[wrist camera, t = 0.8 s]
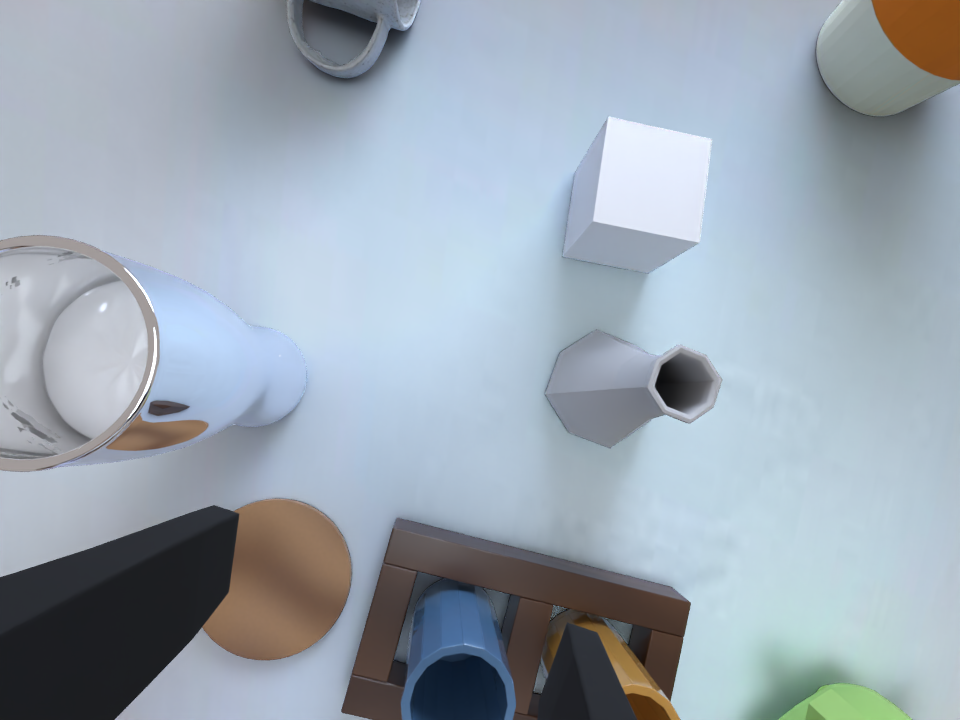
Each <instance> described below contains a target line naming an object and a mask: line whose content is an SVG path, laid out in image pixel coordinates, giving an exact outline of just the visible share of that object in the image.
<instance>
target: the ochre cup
mask: <svg viewBox="0 0 960 720" xmlns="http://www.w3.org/2000/svg"><path fill="white" fill-rule="evenodd" d="M567 622H568V623H571V624H574V625H577V626H580V627H583V628H586V629H589V630H592V631H595V632H597V633H598V635H599V637H600V639H601V641H602V643H603V645H604V648H605V650H606V652H607V654H608V657H609V659H610V661H611V663H612V666H613V668H614V670H615V672H616V675H617V677H618V679H619V681H620V683H621V686H622V688H623V690H624V692H625V694H626V696H627V699H628V701H629V703H630V705H631V707H632V709H633V712H634V714H635V716H636V718H637V720H680V718H679V716H678V715H677V713H676V711H675V709H674V708H673V706H672V704H671V702H670V701H669V700H668V698H667V697H666V696H665V694H664V693H663V692H662V690H661V689H660V688H659V686H658V685H657V684H656V682H655V681H654V680H653V678H652V677H651V676H650V674H649V673H648V672H647V670H646V669H645V668H644V666H643V665H642V664H641V662H640V661H639V660H638V659H637V657H636V656H635V655H634V653H633V652H632V651H631V649H630V648H629V647H628V645H627V644H626V643H625V641H624V640H623V639H622V637H621V636H620V635H619V633H618V632H617V631H616V629H615V628H614V627H613V625H612V624H611V623H610V622H609V621H608V620H607V619H606V618H605V617H601V616H597V615H593V614H589V613H585V612H581V611H576V610H572V609H570V610H567V611H564V612H562V613H560V614H559V615H557V616H556V617H555V618H554V619H553V620H552V621H551V622H550V623H549V626H548V630H547V634H546V639H545V643H544V647H543V651H542V655H541V659H540V662H541V665H542V670H543V673H544V676H545V678H546V680H547V677H548V674H549V672H550V669H551V666H552V663H553V660H554V658H555V655H556V652H557V649H558V646H559V643H560V641H561V638H562V635H563V632H564V629H565V627H566V624H567Z"/></svg>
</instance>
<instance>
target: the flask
mask: <svg viewBox="0 0 960 720" xmlns="http://www.w3.org/2000/svg"><path fill="white" fill-rule="evenodd" d="M721 383H722V378H721V377H720V375H719V374H718V372H717V371H716V369H715V368H714V366H713V364H712V363H711V361H710V360H709V358H708V357H707V355H705V354H703V353H700V352H698V351H695V350H693V349H690V348H688V347H685V346H683V345H680V344H679V345H676V346H675V347H673V348H671V349H670V350H668V351H667V352H665V353H664V354H662V355H652V354H648V353H647V352H645V351H644V350H643V349H641V348H640V347H638V346H636V345H634V344H631V343H629V342H626V341H624V340H621V339H619V338H616V337H614V336H611V335H609V334H606V333H604V332H601V331H599V330H594V331H593V332H591V333H590V334H588V335H587V336H585V337H583V338H582V339H580V340H579V341H577V342H576V343H574V344H572V345H571V346H569V347H568V348H566V349H564V350H563V351H561V352H560V354H559V356H558V359H557V362H556V365H555V367H554V370H553V373H552V376H551V378H550V381H549V384H548V387H547V389H546V392H545V395H546V397H547V398H548V400H549V402H550V403H551V405H552V406H553V408H554V410H555V411H556V413H557V414H558V416H559V418H560V419H561V421H562V422H563V424H564V426H565V427H566V429H567V430H568V432H569V433H572V434H574V435H577V436H579V437H582V438H585V439H587V440H590V441H592V442H595V443H598V444H600V445H603V446H605V447H608V448H611V447H613V446H614V445H616V444H617V443H619V442H620V441H622V440H623V439H625V438H626V437H628V436H629V435H631V434H632V433H634V432H635V431H636V430H638V429H639V428H641V427H642V426H644V425H645V424H647V423H648V422H649V421H651V420H652V419H653V418H656V417H659V416H663V415H668V416H670V417H673V418H675V419H678V420H680V421H683V422H685V423H692V422H693V421H695V420H696V419H697V418H699V417H700V416H702V415H703V414H705V413H706V412H708V411H709V410H711V409H712V408H713V407H714V405H715V402H716V398H717V395H718V392H719V389H720V386H721Z"/></svg>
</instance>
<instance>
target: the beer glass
mask: <svg viewBox="0 0 960 720" xmlns="http://www.w3.org/2000/svg"><path fill="white" fill-rule="evenodd" d="M306 383H307V366H306V362H305V359H304V356H303V354H302V352H301V351H300V349H299V348H298V346H297V345H296V344H295V343H294V342H293V341H292V340H291V339H290V338H289V337H288V336H286V335H285V334H283V333H282V332H280V331H277V330H275V329H272V328H267V327H260V326H249V325H248V324H247V323H246V322H245V321H244V320H243V319H242V318H241V317H240V316H239V315H237V314H236V313H235V312H234V311H233V310H232V309H231V308H229V307H228V306H227V305H225V304H224V303H223V302H221V301H220V300H219V299H217V298H216V297H215V296H213V295H212V294H210V293H208V292H207V291H205V290H203V289H201V288H199V287H197V286H195V285H193V284H192V283H190V282H188V281H186V280H184V279H182V278H179V277H177V276H175V275H172V274H170V273H167V272H165V271H162V270H160V269H157V268H155V267H152V266H149V265H146V264H143V263H140V262H137V261H134V260H131V259H128V258H125V257H122V256H119V255H115V254H112V253H109V252H106V251H103V250H100V249H98V248H96V247H94V246H91V245H89V244H86V243H83V242H80V241H77V240H73V239H69V238H64V237H57V236H46V235H32V236H21V237H14V238H9V239H5V240H1V241H0V470H3V471H14V472H32V471H42V470H48V469H53V468H57V467H68V466H82V465H93V464H103V463H113V462H121V461H127V460H133V459H140V458H146V457H151V456H155V455H159V454H163V453H167V452H171V451H175V450H178V449H182V448H185V447H187V446H190V445H192V444H195V443H197V442H199V441H202V440H204V439H206V438H209V437H211V436H213V435H215V434H217V433H219V432H220V431H222V430H224V429H226V428H228V427H230V426H231V425H233V424H234V425H238V426H244V427H259V426H265V425H269V424H272V423H274V422H276V421H279V420H280V419H282V418H284V417H285V416H286V415H288V414H289V413H290V412H291V411H292V410H293V409H294V408H295V407H296V405H297V404H298V403H299V401H300V400H301V398H302V396H303V394H304V391H305V388H306Z"/></svg>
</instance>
